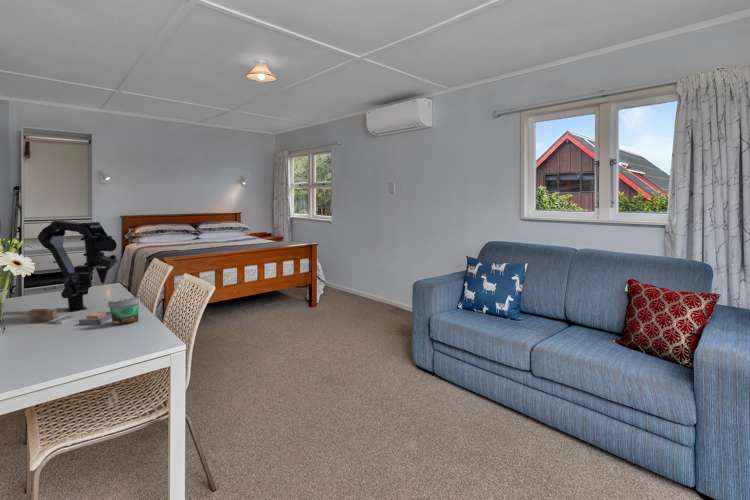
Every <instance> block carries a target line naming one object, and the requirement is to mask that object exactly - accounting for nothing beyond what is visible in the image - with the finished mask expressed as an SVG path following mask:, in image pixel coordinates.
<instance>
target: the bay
mask: <svg viewBox="0 0 750 500" xmlns="http://www.w3.org/2000/svg"><path fill="white" fill-rule="evenodd" d="M98 312H99V313H106V316H104V317H102V318H100V319H86V318H85V319H83V318H82V319H81V318H80V319H78V325H79V326H83V325H84V326H90V325H92V326H94V325H95V326H97V325H99V326H100V325H102V324H103V323H106V322H108V321H109V320H112V317H111V312H110V311H98Z"/></svg>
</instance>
